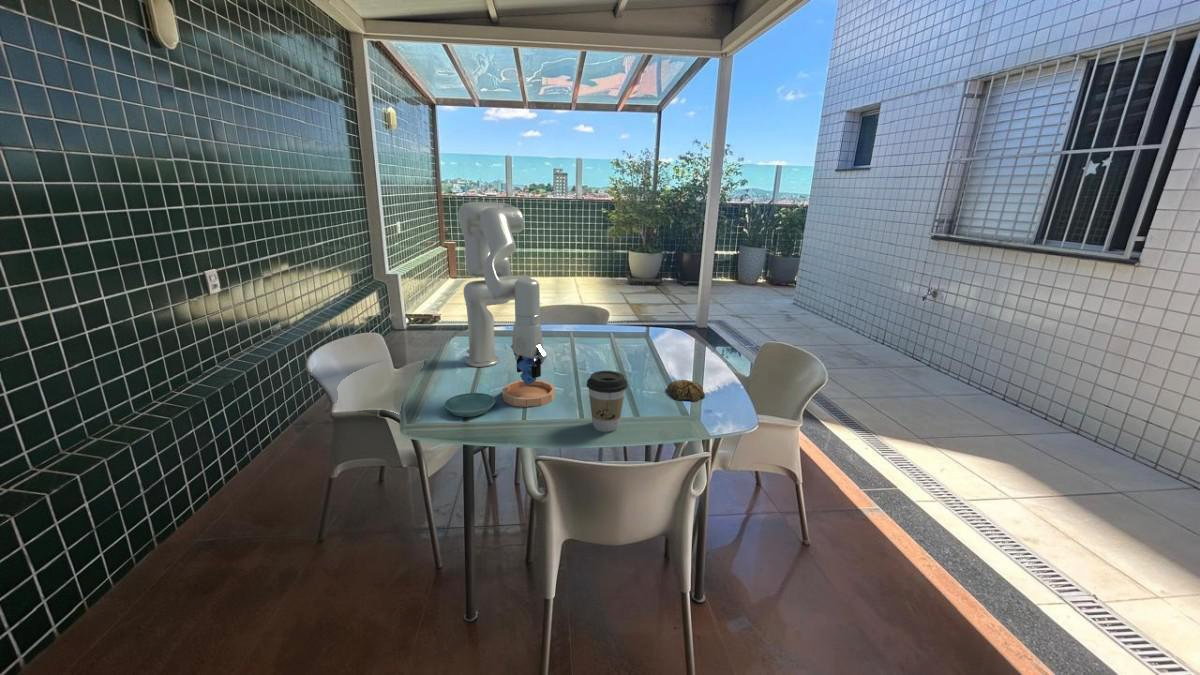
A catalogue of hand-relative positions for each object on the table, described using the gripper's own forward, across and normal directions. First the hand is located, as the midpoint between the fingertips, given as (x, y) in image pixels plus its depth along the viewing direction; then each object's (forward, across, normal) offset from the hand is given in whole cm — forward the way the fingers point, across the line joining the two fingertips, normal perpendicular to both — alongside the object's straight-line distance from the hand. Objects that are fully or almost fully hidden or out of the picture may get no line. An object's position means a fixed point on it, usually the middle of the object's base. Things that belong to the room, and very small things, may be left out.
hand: (528, 373), depth 154 cm
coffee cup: (+8, +32, +2) cm, 33 cm away
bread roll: (+8, +35, +38) cm, 52 cm away
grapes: (+3, 0, 0) cm, 3 cm away
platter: (+8, 0, 0) cm, 8 cm away
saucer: (+8, -5, -19) cm, 21 cm away
